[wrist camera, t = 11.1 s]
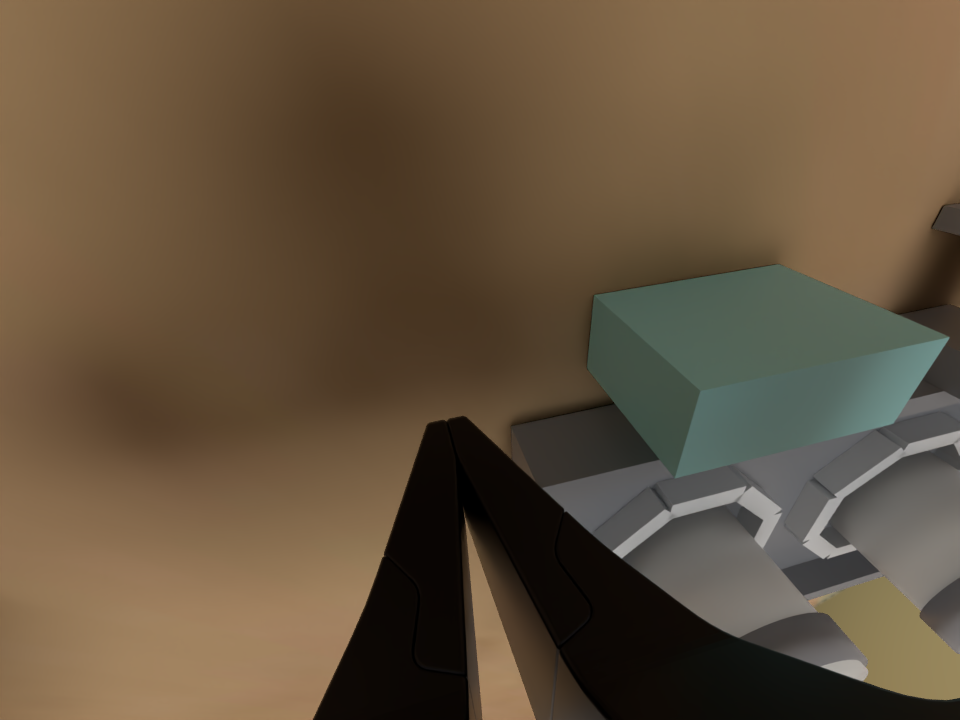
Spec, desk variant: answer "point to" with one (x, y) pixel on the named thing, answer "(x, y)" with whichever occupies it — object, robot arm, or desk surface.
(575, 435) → the tray
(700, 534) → the white domed cylinder
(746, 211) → the desk surface
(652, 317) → the bar
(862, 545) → the grey lidded container
